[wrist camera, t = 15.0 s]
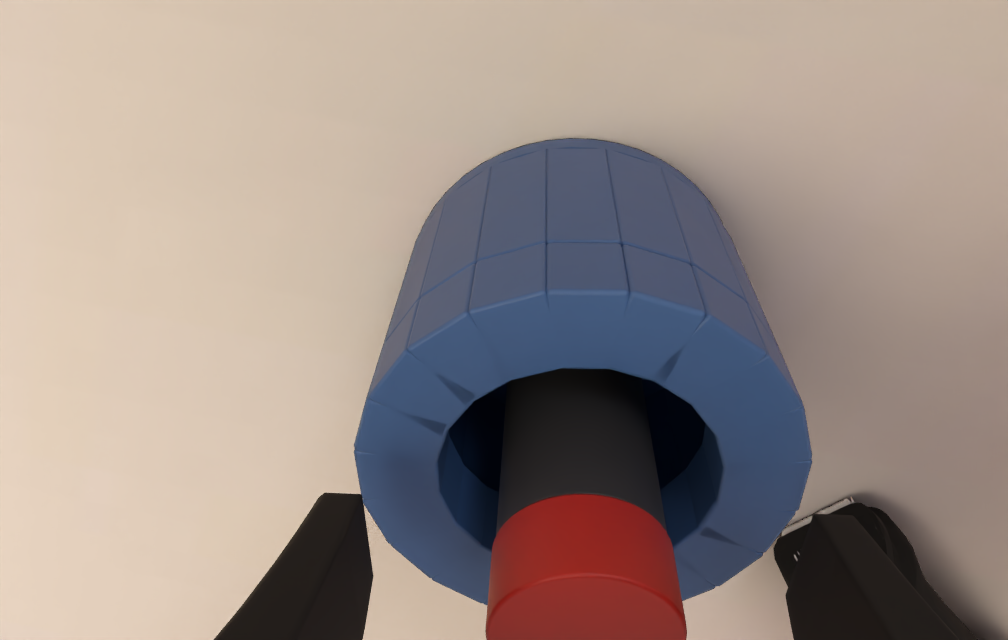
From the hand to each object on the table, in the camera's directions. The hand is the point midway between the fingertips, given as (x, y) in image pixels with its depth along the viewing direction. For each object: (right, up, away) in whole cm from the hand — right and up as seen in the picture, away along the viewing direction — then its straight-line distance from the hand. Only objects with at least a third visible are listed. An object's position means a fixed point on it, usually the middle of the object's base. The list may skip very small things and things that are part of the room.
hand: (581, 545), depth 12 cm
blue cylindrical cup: (0, +4, +7) cm, 8 cm away
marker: (0, +4, +6) cm, 7 cm away
